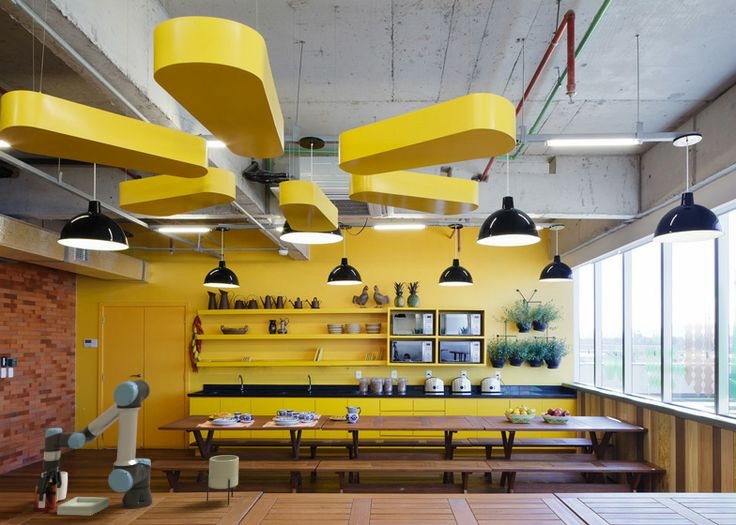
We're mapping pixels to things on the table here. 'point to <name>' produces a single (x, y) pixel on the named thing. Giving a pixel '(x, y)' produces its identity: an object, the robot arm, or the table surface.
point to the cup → (62, 486)
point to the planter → (223, 473)
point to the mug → (46, 498)
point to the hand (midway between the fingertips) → (48, 504)
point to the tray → (83, 506)
